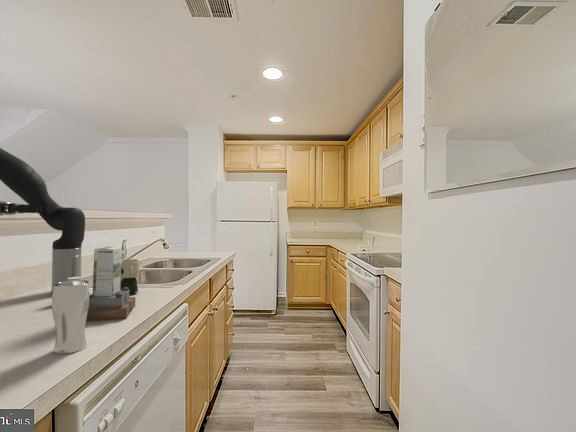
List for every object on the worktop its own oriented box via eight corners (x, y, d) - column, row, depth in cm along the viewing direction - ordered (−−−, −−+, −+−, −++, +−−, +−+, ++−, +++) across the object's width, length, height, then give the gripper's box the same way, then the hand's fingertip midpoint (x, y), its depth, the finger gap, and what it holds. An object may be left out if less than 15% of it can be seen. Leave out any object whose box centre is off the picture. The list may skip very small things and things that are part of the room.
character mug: (116, 292, 118) (117, 259, 118) (136, 289, 122) (137, 258, 122) (120, 298, 109) (120, 263, 109) (141, 295, 113) (142, 261, 113)
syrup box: (102, 292, 94) (102, 246, 94) (121, 291, 95) (122, 246, 95) (92, 296, 89) (93, 248, 89) (112, 296, 89) (113, 248, 89)
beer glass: (47, 358, 63) (48, 287, 63) (55, 345, 69) (56, 281, 69) (86, 351, 66) (87, 284, 66) (90, 340, 72) (91, 278, 72)
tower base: (91, 308, 96) (91, 287, 96) (135, 305, 100) (135, 285, 100) (74, 322, 84) (75, 298, 84) (126, 318, 88) (126, 295, 88)
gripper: (-54, 190, 70) (36, 194, 79) (-34, 194, 81) (42, 197, 91) (-55, 222, 70) (35, 222, 79) (-35, 221, 81) (41, 221, 91)
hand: (39, 209), depth 85 cm, fingers open, 8 cm apart
